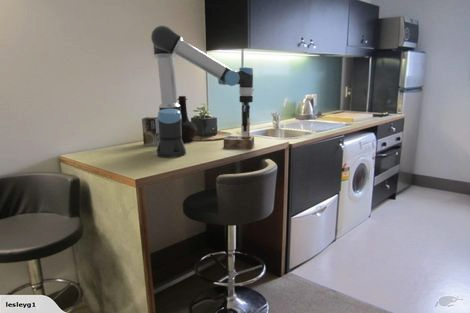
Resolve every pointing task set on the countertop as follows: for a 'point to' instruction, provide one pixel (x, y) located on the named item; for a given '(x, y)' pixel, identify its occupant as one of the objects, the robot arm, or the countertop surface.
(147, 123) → the coffee box
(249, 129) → the peg
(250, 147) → the socket block
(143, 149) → the countertop surface
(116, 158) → the countertop surface
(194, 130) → the glass bottle
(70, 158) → the countertop surface
